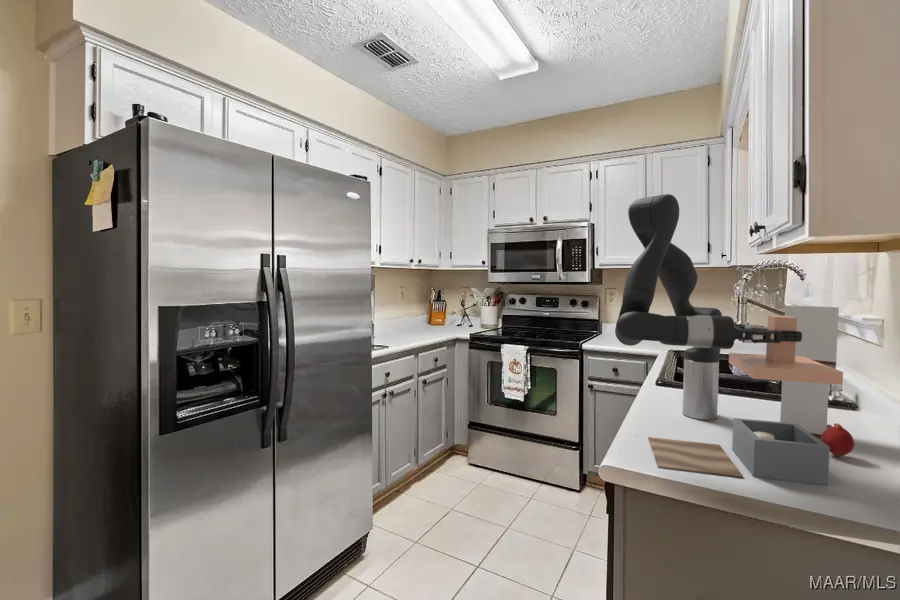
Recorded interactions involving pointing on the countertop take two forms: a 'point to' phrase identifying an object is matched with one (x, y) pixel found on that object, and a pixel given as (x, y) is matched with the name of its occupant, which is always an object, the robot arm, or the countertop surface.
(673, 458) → the board
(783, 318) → the lid
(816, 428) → the white tall block
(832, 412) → the countertop surface
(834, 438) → the pomegranate
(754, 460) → the storage box
